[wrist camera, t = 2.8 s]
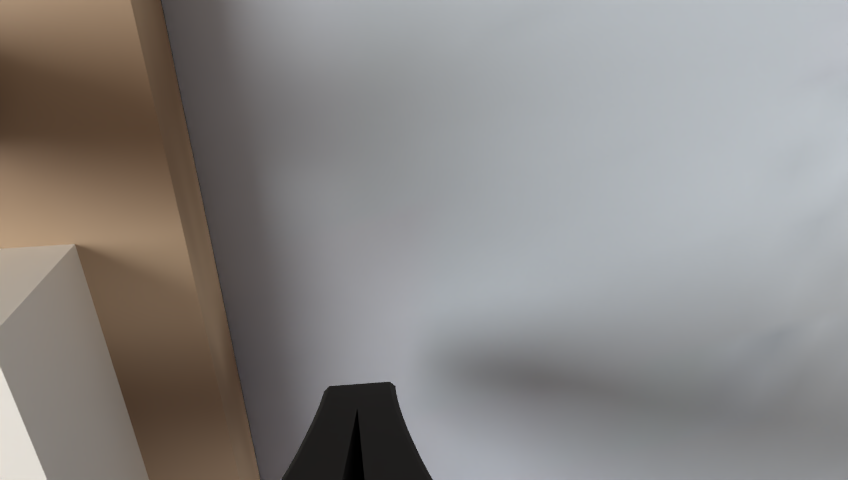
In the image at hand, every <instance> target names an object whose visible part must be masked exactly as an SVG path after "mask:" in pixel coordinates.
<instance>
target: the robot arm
mask: <svg viewBox="0 0 848 480" xmlns="http://www.w3.org/2000/svg"><path fill="white" fill-rule="evenodd" d="M282 480H433V479H432V478H431V476H430V474H429V472H428V471H427V469H426V467H425V465H424V463H423V461H422V459H421V457H420V455H419V453H418V451H417V449H416V447H415V445H414V443H413V440H412V438H411V436H410V434H409V431H408V429H407V427H406V424H405V421H404V419H403V416H402V413H401V410H400V407H399V403H398V400H397V395H396V388H395V386H394V385H393V384H392V383H391V382H381V383H367V384H354V385H340V386H329V387H328V388H327V389H326V390H325V391H324V394H323V397H322V400H321V403H320V405H319V408H318V410H317V412H316V415H315V417H314V419H313V422H312V424H311V426H310V428H309V430H308V432H307V434H306V436H305V438H304V440H303V442H302V444H301V446H300V448H299V450H298V451H297V453H296V455H295V457H294V459H293V461H292V463H291V465H290V466H289V468H288V470H287V471H286V473H285V475H284V476H283V478H282Z"/></svg>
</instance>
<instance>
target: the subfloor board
mask: <svg viewBox="0 0 848 480" xmlns="http://www.w3.org/2000/svg"><path fill="white" fill-rule="evenodd" d="M68 244H75V246H76V250H77V253H78V256H79V259H80V262H81V265H82V269H83V272H84V275H85V278H86V281H87V284H88V288H89V291H90V294H91V297H92V300H93V303H94V307H95V310H96V313H97V316H98V319H99V322H100V326H101V329H102V332H103V335H104V338H105V341H106V345H107V348H108V351H109V354H110V357H111V361H112V364H113V367H114V370H115V373H116V376H117V380H118V383H119V386H120V389H121V392H122V395H123V399H124V402H125V405H126V408H127V411H128V414H129V418H130V421H131V424H132V427H133V430H134V433H135V437H136V440H137V443H138V446H139V449H140V452H141V456H142V459H143V462H144V465H145V468H146V471H147V475H148V478H149V480H260V476H259V471H258V466H257V461H256V456H255V452H254V447H253V442H252V437H251V432H250V428H249V423H248V418H247V413H246V408H245V404H244V399H243V394H242V389H241V384H240V379H239V375H238V370H237V365H236V360H235V355H234V351H233V346H232V341H231V336H230V331H229V327H228V322H227V317H226V312H225V307H224V302H223V298H222V293H221V288H220V283H219V278H218V274H217V269H216V264H215V259H214V254H213V250H212V245H211V240H210V235H209V230H208V225H207V221H206V216H205V211H204V206H203V201H202V197H201V192H200V187H199V182H198V177H197V173H196V168H195V163H194V158H193V153H192V148H191V144H190V139H189V134H188V129H187V124H186V120H185V115H184V110H183V105H182V100H181V96H180V91H179V86H178V81H177V76H176V71H175V67H174V62H173V57H172V52H171V47H170V43H169V38H168V33H167V28H166V23H165V19H164V14H163V9H162V4H161V0H0V249H4V248H20V247H36V246H52V245H68Z"/></svg>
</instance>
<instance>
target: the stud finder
mask: <svg viewBox="0 0 848 480" xmlns="http://www.w3.org/2000/svg"><path fill="white" fill-rule="evenodd" d="M0 480H149V478H148V475H147V471H146V468H145V465H144V462H143V459H142V456H141V452H140V449H139V446H138V443H137V440H136V437H135V433H134V430H133V427H132V424H131V421H130V418H129V414H128V411H127V408H126V405H125V402H124V399H123V395H122V392H121V389H120V386H119V383H118V380H117V376H116V373H115V370H114V367H113V364H112V361H111V357H110V354H109V351H108V348H107V345H106V341H105V338H104V335H103V332H102V329H101V326H100V322H99V319H98V316H97V313H96V310H95V307H94V303H93V300H92V297H91V294H90V291H89V288H88V284H87V281H86V278H85V275H84V272H83V269H82V265H81V262H80V259H79V256H78V253H77V250H76V246H75V244H68V245H52V246H36V247H20V248H4V249H0Z"/></svg>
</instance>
